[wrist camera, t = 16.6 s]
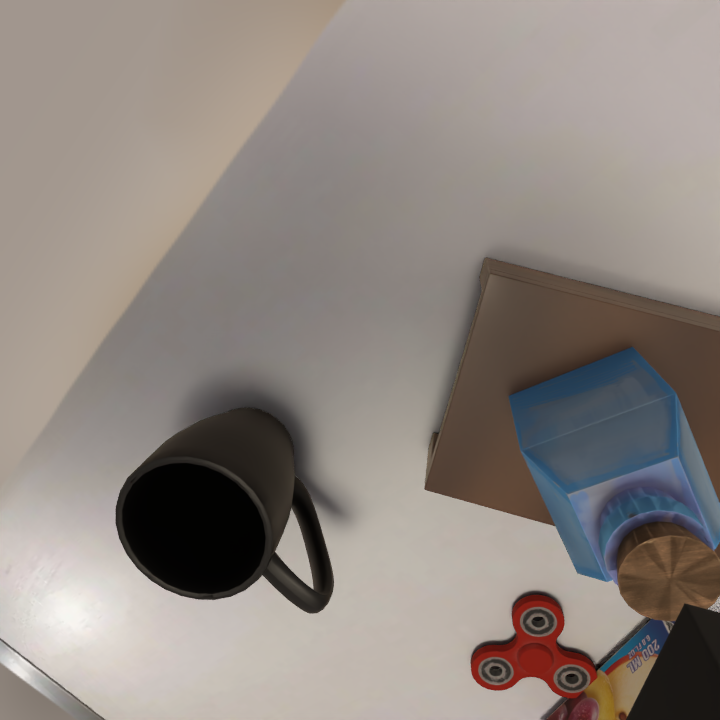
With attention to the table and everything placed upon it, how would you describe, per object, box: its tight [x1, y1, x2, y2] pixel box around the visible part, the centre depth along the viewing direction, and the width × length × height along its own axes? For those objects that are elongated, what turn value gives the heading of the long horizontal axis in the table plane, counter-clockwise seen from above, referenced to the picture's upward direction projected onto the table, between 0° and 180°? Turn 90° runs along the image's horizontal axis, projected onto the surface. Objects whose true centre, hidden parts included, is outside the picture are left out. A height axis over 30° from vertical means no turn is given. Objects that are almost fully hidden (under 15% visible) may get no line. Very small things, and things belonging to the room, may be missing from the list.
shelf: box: [425, 258, 720, 559], centre depth 32 cm, size 18×12×8 cm, turn 77°
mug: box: [116, 408, 334, 613], centre depth 36 cm, size 8×12×10 cm
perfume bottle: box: [508, 347, 720, 621], centre depth 25 cm, size 6×6×12 cm
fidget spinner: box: [471, 595, 597, 698], centre depth 41 cm, size 8×7×1 cm
